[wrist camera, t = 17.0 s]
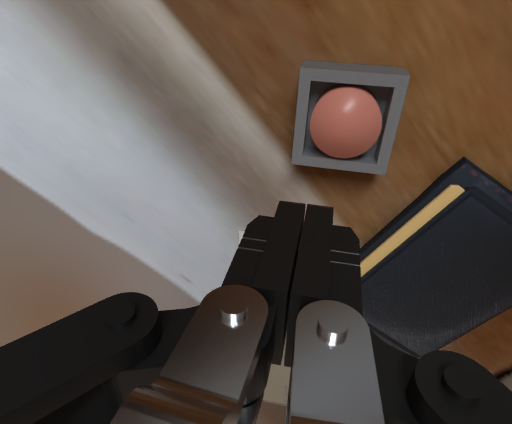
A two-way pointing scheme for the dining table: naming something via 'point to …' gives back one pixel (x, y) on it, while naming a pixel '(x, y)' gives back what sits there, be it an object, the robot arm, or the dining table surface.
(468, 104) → the dining table surface
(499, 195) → the wallet
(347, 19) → the dining table surface
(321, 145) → the button
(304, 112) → the button housing
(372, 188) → the dining table surface
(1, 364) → the robot arm
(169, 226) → the dining table surface
